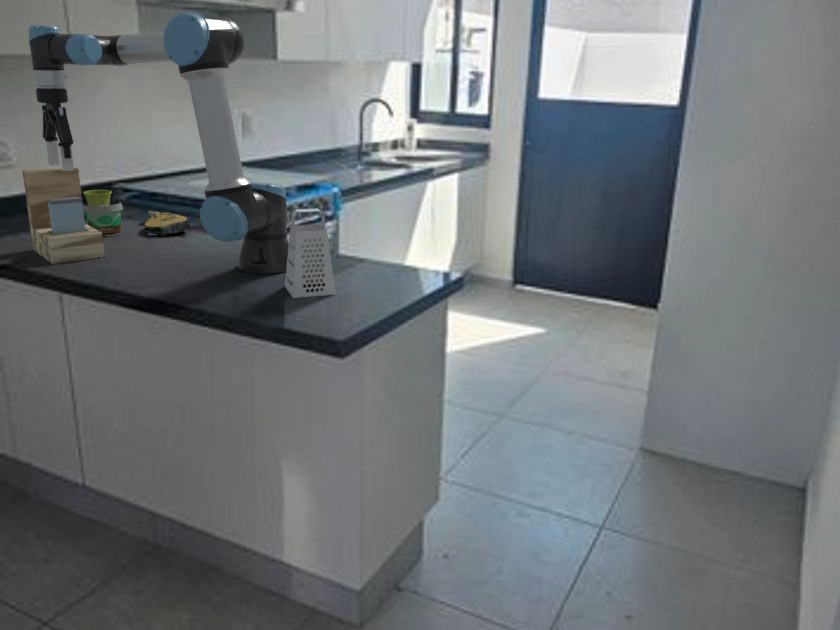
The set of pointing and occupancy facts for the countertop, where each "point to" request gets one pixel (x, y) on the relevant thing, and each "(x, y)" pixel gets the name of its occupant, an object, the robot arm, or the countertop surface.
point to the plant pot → (98, 197)
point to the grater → (309, 259)
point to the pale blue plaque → (66, 215)
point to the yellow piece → (166, 223)
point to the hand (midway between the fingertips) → (61, 168)
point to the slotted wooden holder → (44, 243)
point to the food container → (104, 218)
